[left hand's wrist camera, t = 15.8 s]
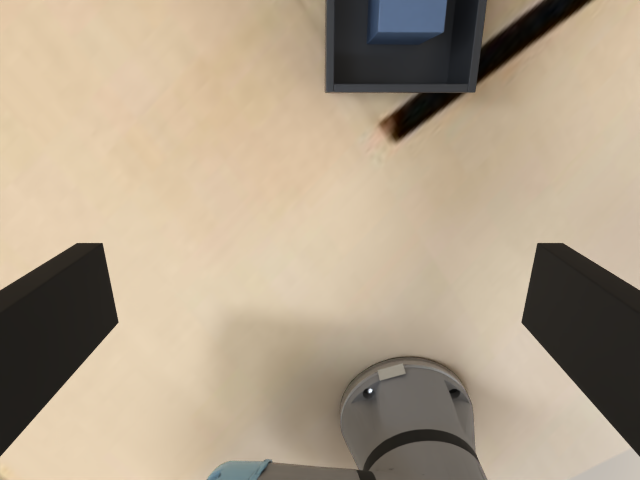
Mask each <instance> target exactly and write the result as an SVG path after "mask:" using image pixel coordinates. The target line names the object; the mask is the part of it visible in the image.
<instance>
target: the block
mask: <svg viewBox="0 0 640 480" xmlns="http://www.w3.org/2000/svg"><path fill="white" fill-rule="evenodd" d="M446 6H447V0H368V23H367V44H395V45H419V44H421V43H423V42H425V41H427V40H429V39H431V38H433V37H435V36H437V35H439V34H441V33H443V32H444V26H445V16H446Z"/></svg>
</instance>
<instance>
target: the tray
mask: <svg viewBox="0 0 640 480" xmlns="http://www.w3.org/2000/svg"><path fill="white" fill-rule="evenodd" d="M486 4H487V0H447V6H446V16H445V26H444V32H443V33H441V34H439V35H437V36H435V37H433V38H431V39H429V40H427V41H425V42H423V43H421V44H419V45H395V44H367V23H368V0H325V93H471V92H475V90H476V82H477V75H478V67H479V59H480V51H481V43H482V35H483V27H484V19H485V11H486Z"/></svg>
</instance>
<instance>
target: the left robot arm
mask: <svg viewBox="0 0 640 480" xmlns="http://www.w3.org/2000/svg"><path fill="white" fill-rule="evenodd" d="M117 324H118V317H117V312H116V307H115V303H114V298H113V293H112V288H111V283H110V278H109V273H108V268H107V263H106V258H105V253H104V248H103V243H77V244H75V245H73V246H72V247H70V248H68V249H67V250H65V251H64V252H62V253H60V254H59V255H57V256H55V257H54V258H52V259H51V260H49V261H47V262H46V263H44V264H42V265H41V266H39V267H38V268H36V269H34V270H33V271H31V272H29V273H28V274H26V275H25V276H23V277H21V278H20V279H18V280H16V281H15V282H13V283H12V284H10V285H8V286H7V287H5V288H3V289H2V290H0V456H1V455H2V454H3V453H4V452H5V451H6V449H7V448H8V447H9V446H10V445H11V444H12V443H13V441H14V440H15V439H16V438H17V437H18V436H19V435H20V434H21V432H22V431H23V430H24V429H25V428H26V427H27V426H28V424H29V423H30V422H31V421H32V420H33V419H34V418H35V417H36V415H37V414H38V413H39V412H40V411H41V410H42V409H43V407H44V406H45V405H46V404H47V403H48V402H49V401H50V400H51V398H52V397H53V396H54V395H55V394H56V393H57V392H58V390H59V389H60V388H61V387H62V386H63V385H64V384H65V383H66V381H67V380H68V379H69V378H70V377H71V376H72V375H73V373H74V372H75V371H76V370H77V369H78V368H79V367H80V365H81V364H82V363H83V362H84V361H85V360H86V359H87V358H88V356H89V355H90V354H91V353H92V352H93V351H94V350H95V348H96V347H97V346H98V345H99V344H100V343H101V342H102V341H103V339H104V338H105V337H106V336H107V335H108V334H109V333H110V331H111V330H112V329H113V328H114V327H115V326H116V325H117ZM522 324H523V325H524V326H525V327H526V328H527V329H528V330H529V331H530V333H531V334H532V335H533V336H534V337H535V338H536V339H537V341H538V342H539V343H540V344H541V345H542V346H543V347H544V348H545V350H546V351H547V352H548V353H549V354H550V355H551V356H552V358H553V359H554V360H555V361H556V362H557V363H558V364H559V365H560V367H561V368H562V369H563V370H564V371H565V372H566V373H567V375H568V376H569V377H570V378H571V379H572V380H573V381H574V383H575V384H576V385H577V386H578V387H579V388H580V389H581V390H582V392H583V393H584V394H585V395H586V396H587V397H588V398H589V400H590V401H591V402H592V403H593V404H594V405H595V406H596V407H597V409H598V410H599V411H600V412H601V413H602V414H603V415H604V417H605V418H606V419H607V420H608V421H609V422H610V423H611V424H612V426H613V427H614V428H615V429H616V430H617V431H618V432H619V434H620V435H621V436H622V437H623V438H624V439H625V440H626V441H627V443H628V444H629V445H630V446H631V447H632V448H633V449H634V451H635V452H636V453H637V454H638V455H639V456H640V290H638V289H637V288H635V287H633V286H632V285H630V284H628V283H627V282H625V281H624V280H622V279H620V278H619V277H617V276H615V275H614V274H612V273H611V272H609V271H607V270H606V269H604V268H602V267H601V266H599V265H598V264H596V263H594V262H593V261H591V260H589V259H588V258H586V257H585V256H583V255H581V254H580V253H578V252H576V251H575V250H573V249H572V248H570V247H568V246H567V245H565V244H563V243H537V248H536V253H535V258H534V263H533V268H532V273H531V278H530V283H529V288H528V293H527V298H526V303H525V307H524V312H523V317H522ZM340 422H341V431H342V434H343V437H344V439H345V442H346V444H347V446H348V448H349V450H350V452H351V454H352V456H353V458H354V460H355V462H356V464H357V467H358V469H359V470H355V469H342V468H328V467H315V466H305V465H294V464H283V463H272V460H269V459H266V460H264V461H263V462H260V461H229V462H226V463H223V464H221V465H220V466H218V467H217V468H216V469H215V470H214V471H213V472H212V473H211V475H210V476H209V477H208V479H207V480H487V478H486V476H485V474H484V471H483V469H482V467H481V465H480V462H479V460H478V458H477V455H476V453H475V435H474V417H473V407H472V403H471V400H470V398H469V396H468V394H467V392H466V390H465V388H464V386H463V384H462V382H461V381H460V379H459V378H458V377H457V376H456V375H455V374H454V373H453V372H452V371H451V370H449V369H448V368H446V367H445V366H443V365H441V364H439V363H436V362H434V361H431V360H427V359H423V358H415V357H402V358H394V359H390V360H386V361H383V362H380V363H377V364H375V365H373V366H371V367H369V368H368V369H366V370H364V371H363V372H362V373H360V374H359V375H358V376H357V377H356V378H355V379H354V380H353V381H352V382H351V383H350V385H349V386H348V387H347V389H346V391H345V393H344V395H343V397H342V400H341V405H340Z"/></svg>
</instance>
